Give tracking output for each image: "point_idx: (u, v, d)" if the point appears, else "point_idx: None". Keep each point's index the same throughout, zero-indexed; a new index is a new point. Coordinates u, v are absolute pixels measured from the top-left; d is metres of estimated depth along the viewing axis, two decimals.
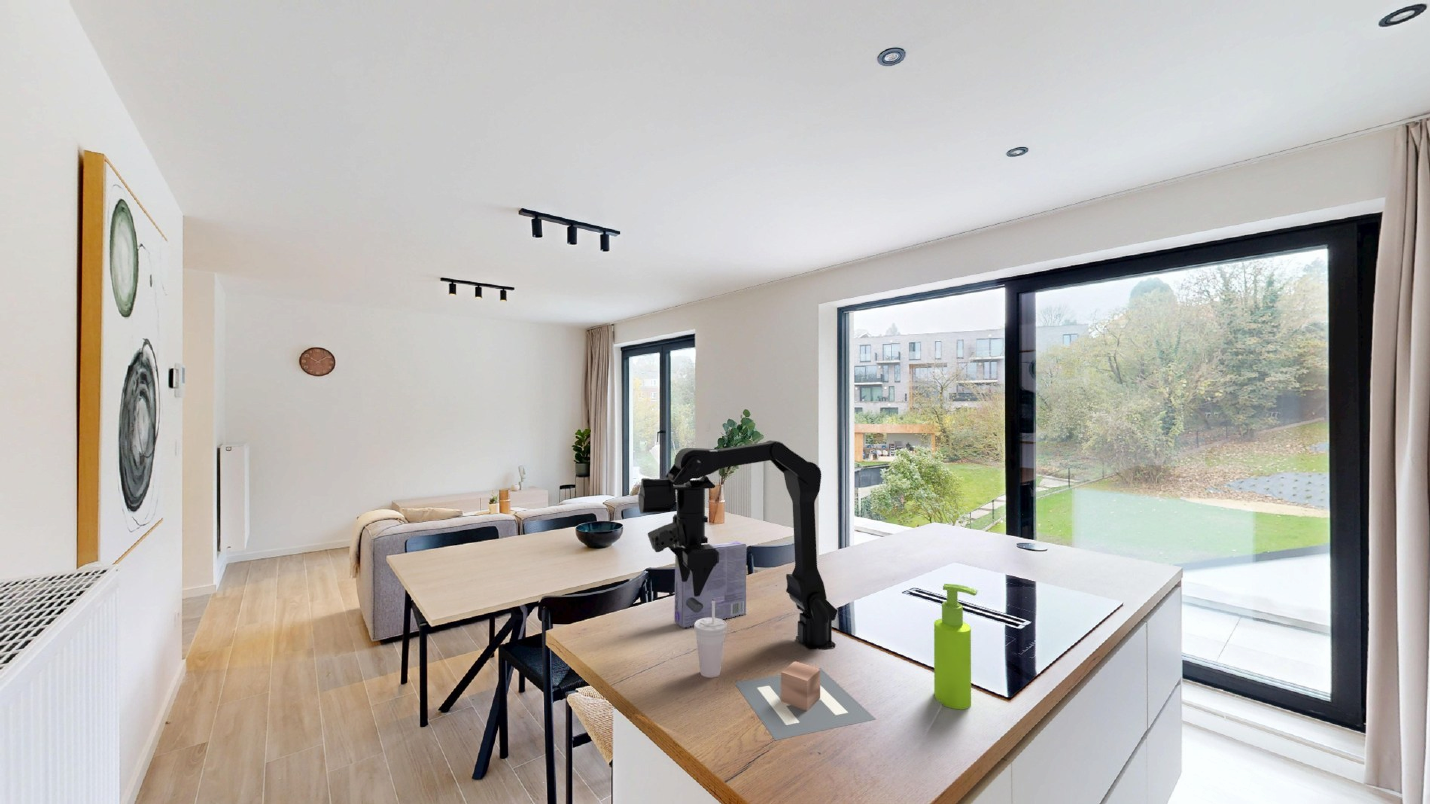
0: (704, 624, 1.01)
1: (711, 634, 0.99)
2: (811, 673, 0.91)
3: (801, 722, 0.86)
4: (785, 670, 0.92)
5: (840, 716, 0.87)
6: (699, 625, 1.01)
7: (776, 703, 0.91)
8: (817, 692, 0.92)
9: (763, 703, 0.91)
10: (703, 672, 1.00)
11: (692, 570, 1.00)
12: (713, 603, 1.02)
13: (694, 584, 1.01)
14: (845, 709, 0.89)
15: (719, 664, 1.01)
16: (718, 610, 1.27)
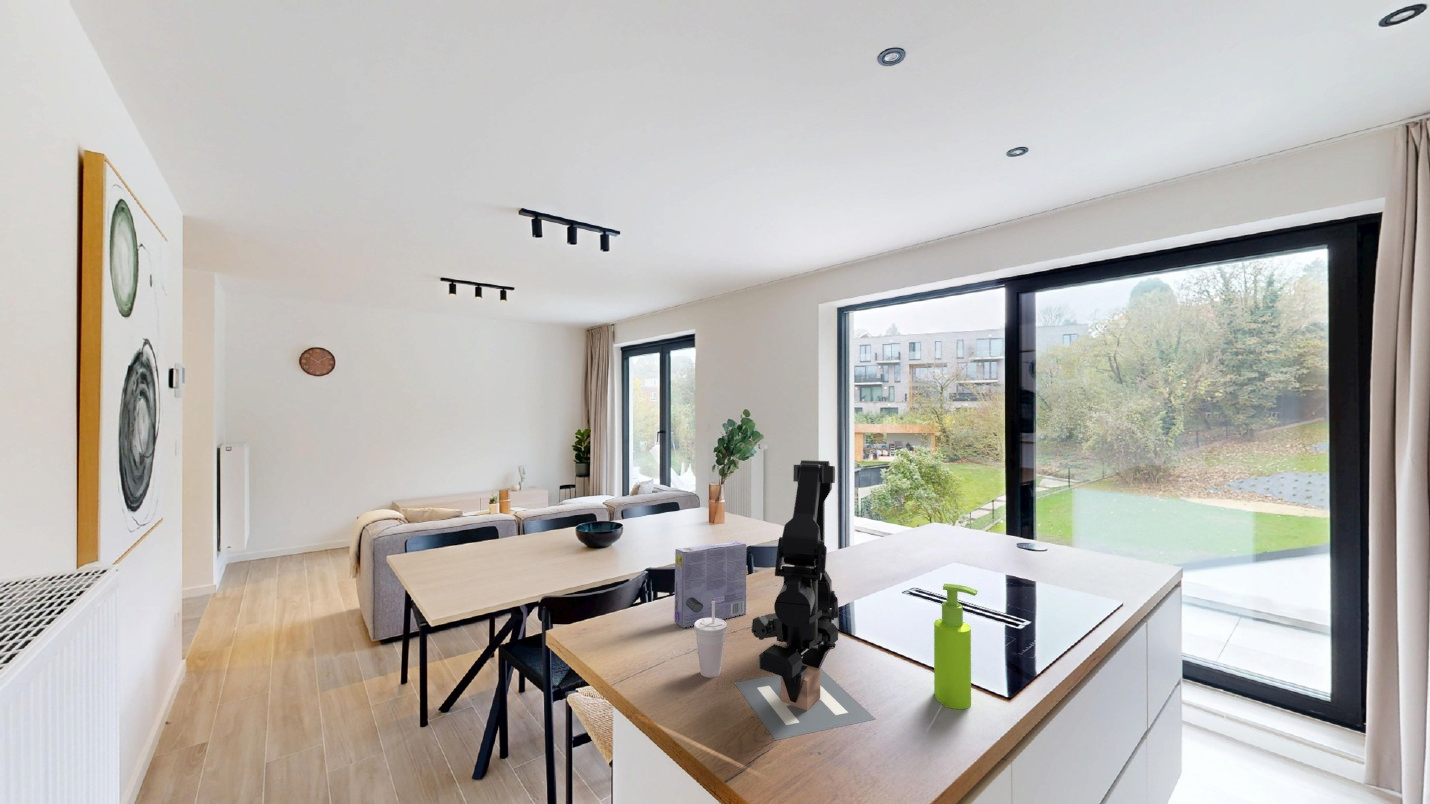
0: (704, 624, 1.01)
1: (711, 634, 0.99)
2: (811, 673, 0.91)
3: (801, 722, 0.86)
4: None
5: (840, 716, 0.87)
6: (699, 625, 1.01)
7: (776, 703, 0.91)
8: (817, 692, 0.92)
9: (763, 703, 0.91)
10: (703, 672, 1.00)
11: None
12: (713, 603, 1.02)
13: (786, 686, 0.90)
14: (845, 709, 0.89)
15: (719, 664, 1.01)
16: (718, 610, 1.27)
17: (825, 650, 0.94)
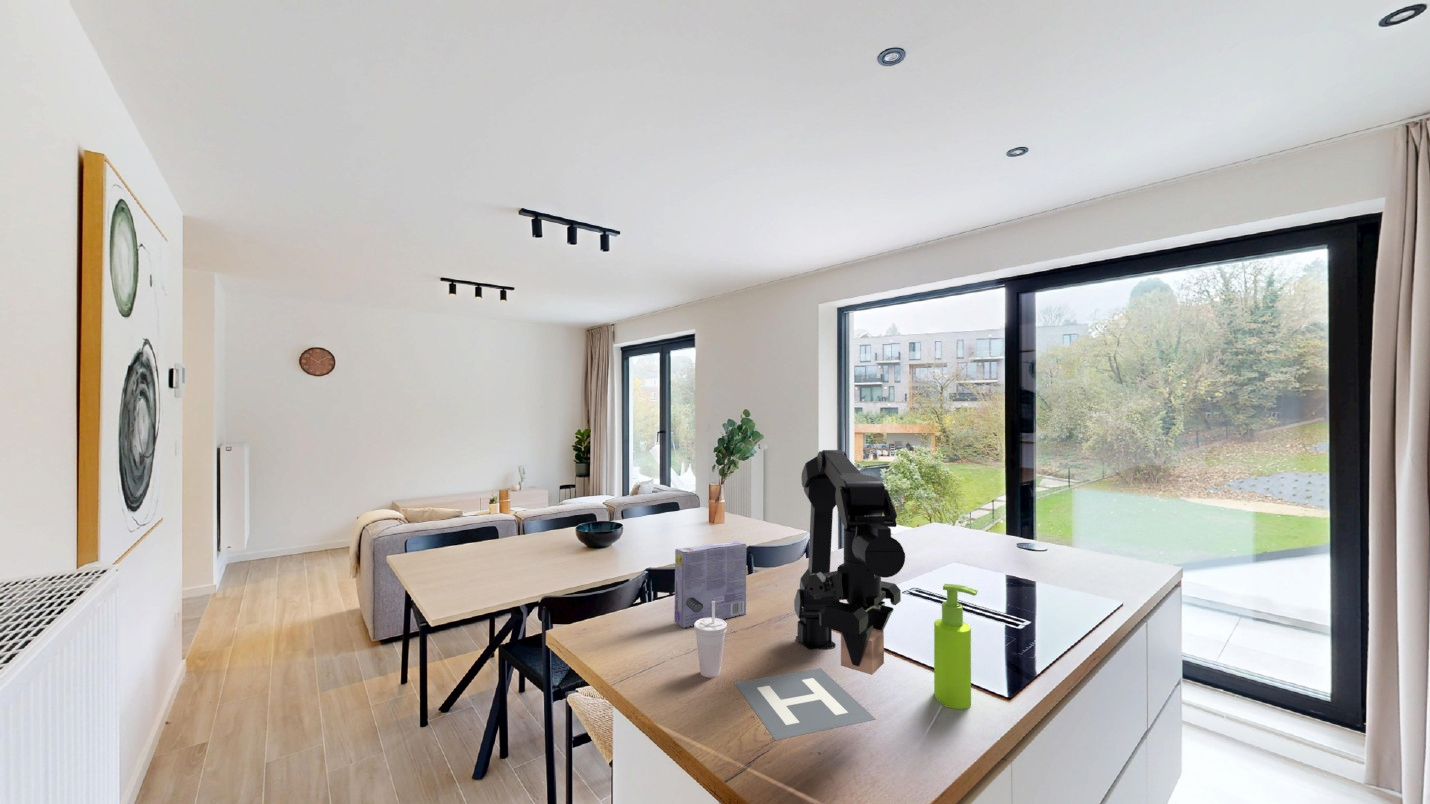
0: (704, 624, 1.01)
1: (711, 634, 0.99)
2: (875, 634, 0.83)
3: (801, 722, 0.86)
4: None
5: (840, 716, 0.87)
6: (699, 625, 1.01)
7: (776, 703, 0.91)
8: (881, 655, 0.83)
9: (763, 703, 0.91)
10: (703, 672, 1.00)
11: None
12: (713, 603, 1.02)
13: (848, 648, 0.81)
14: (845, 709, 0.89)
15: (719, 664, 1.01)
16: (718, 610, 1.27)
17: (888, 611, 0.85)
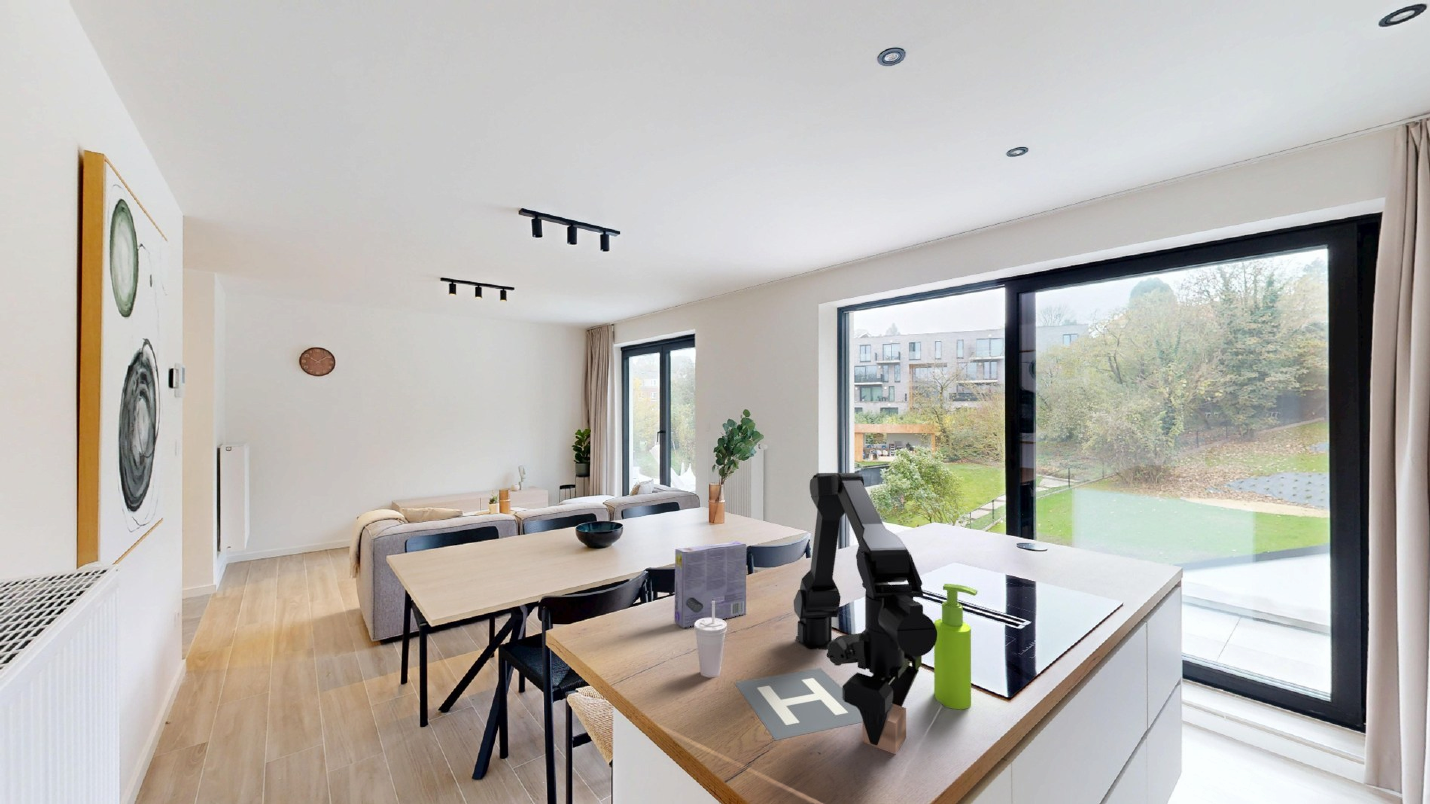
0: (704, 624, 1.01)
1: (711, 634, 0.99)
2: (898, 714, 0.80)
3: (801, 722, 0.86)
4: None
5: (840, 716, 0.87)
6: (699, 625, 1.01)
7: (776, 703, 0.91)
8: (903, 734, 0.81)
9: (763, 703, 0.91)
10: (703, 672, 1.00)
11: (859, 707, 0.77)
12: (713, 603, 1.02)
13: (866, 727, 0.77)
14: (845, 709, 0.89)
15: (719, 664, 1.01)
16: (718, 610, 1.27)
17: (914, 672, 0.85)
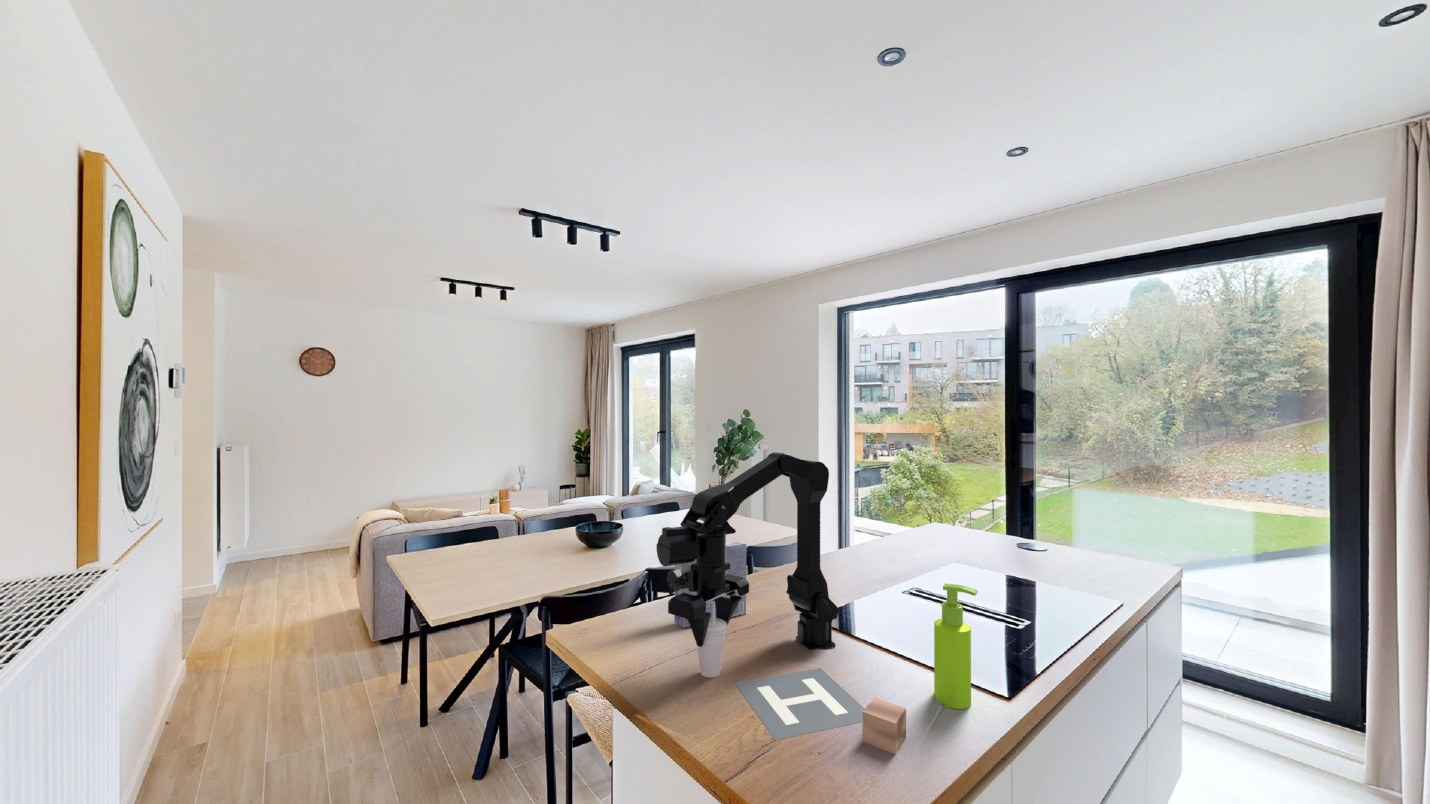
0: None
1: (711, 634, 0.99)
2: (898, 714, 0.80)
3: (801, 722, 0.86)
4: (867, 709, 0.81)
5: (840, 716, 0.87)
6: None
7: (776, 703, 0.91)
8: (903, 734, 0.81)
9: (763, 703, 0.91)
10: (703, 672, 1.00)
11: None
12: (713, 603, 1.02)
13: (693, 632, 0.99)
14: (845, 709, 0.89)
15: (719, 664, 1.01)
16: None
17: (736, 599, 1.04)
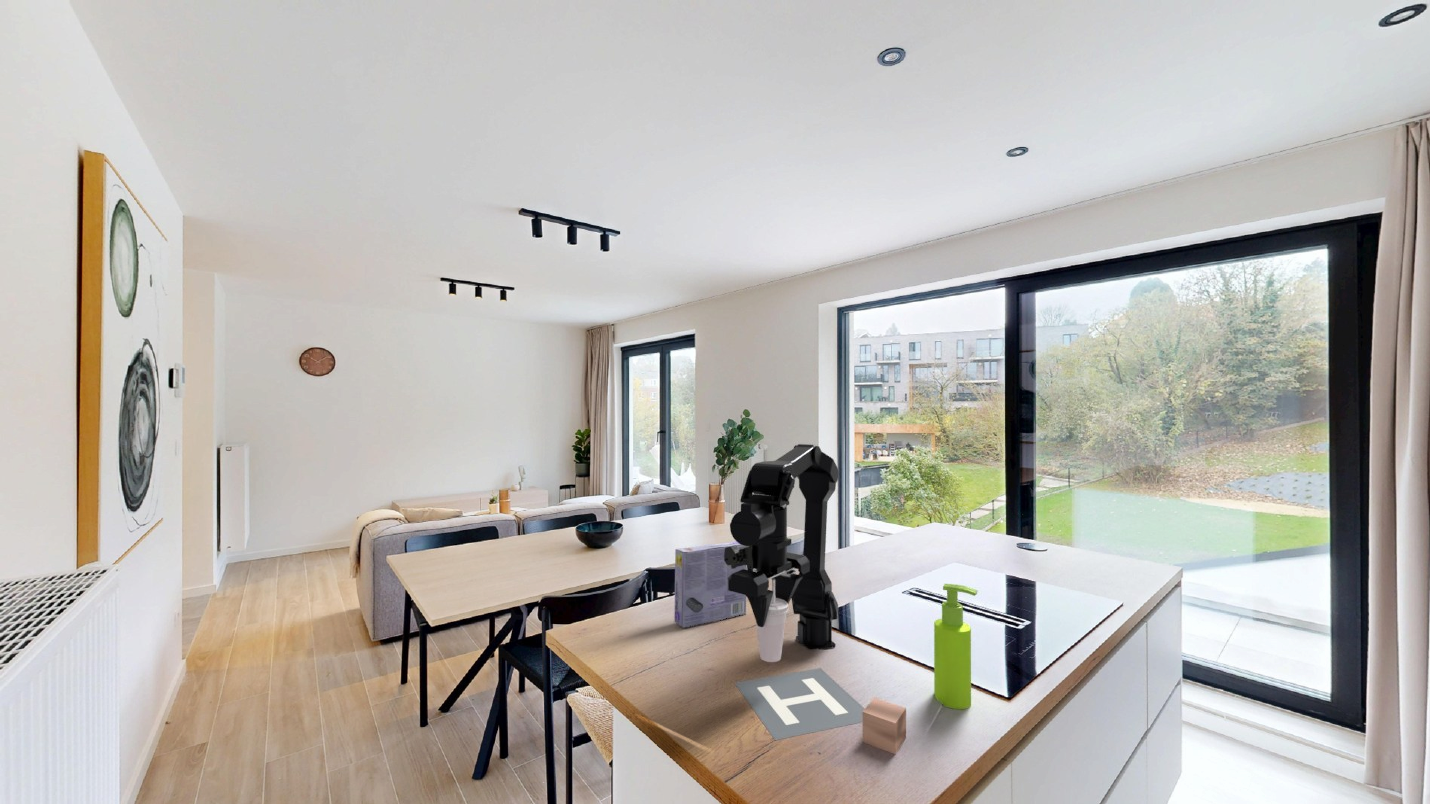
0: None
1: (773, 614, 0.92)
2: (898, 714, 0.80)
3: (801, 722, 0.86)
4: (867, 709, 0.81)
5: (840, 716, 0.87)
6: None
7: (776, 703, 0.91)
8: (903, 734, 0.81)
9: (763, 703, 0.91)
10: (763, 654, 0.94)
11: (747, 595, 0.92)
12: (773, 581, 0.95)
13: (753, 611, 0.93)
14: (845, 709, 0.89)
15: (780, 646, 0.94)
16: (718, 610, 1.27)
17: (797, 578, 0.97)
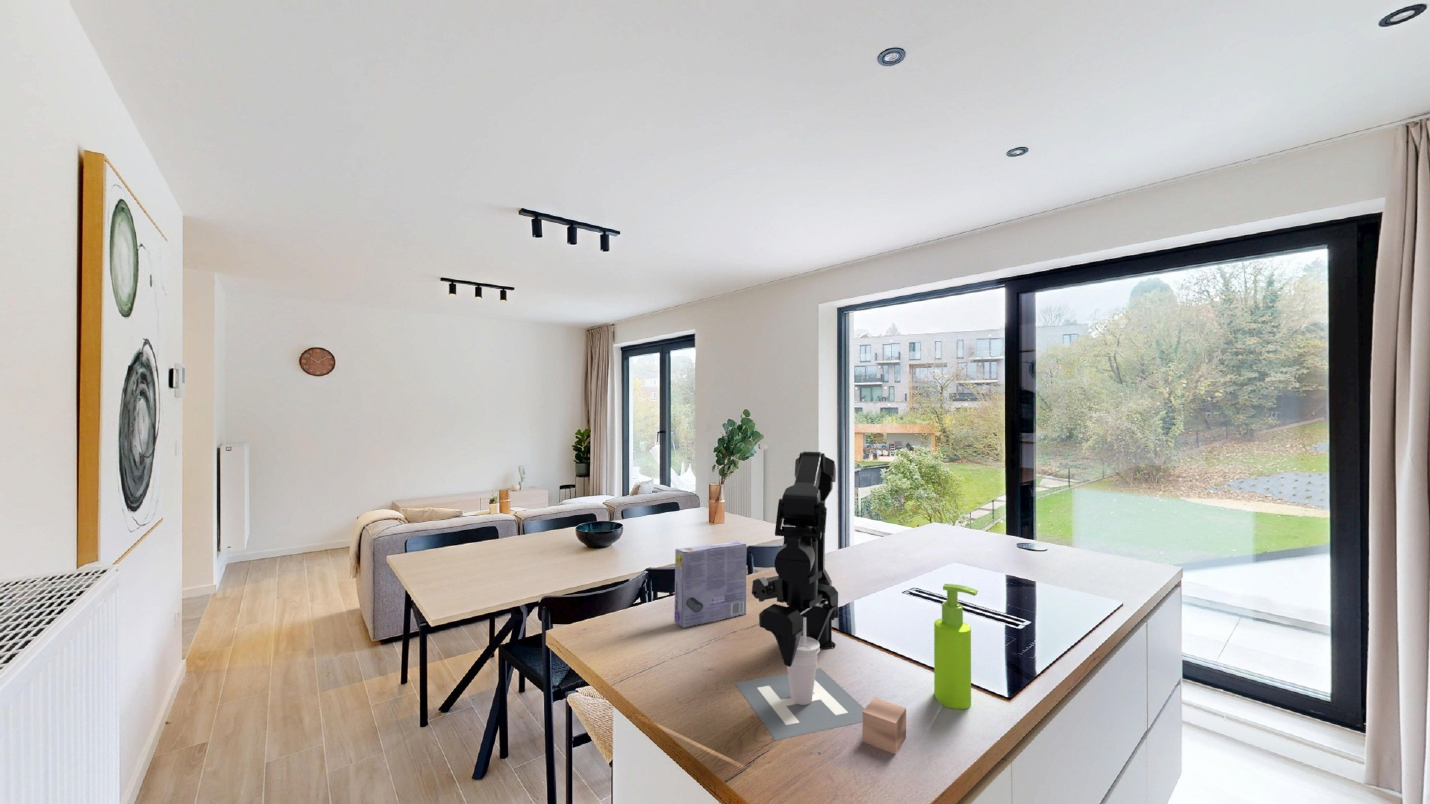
0: None
1: (806, 655, 0.90)
2: (898, 714, 0.80)
3: (801, 722, 0.86)
4: (867, 709, 0.81)
5: (840, 716, 0.87)
6: None
7: (776, 703, 0.91)
8: (903, 734, 0.81)
9: (763, 703, 0.91)
10: (794, 696, 0.91)
11: (774, 633, 0.88)
12: (805, 620, 0.92)
13: (781, 650, 0.88)
14: (845, 709, 0.89)
15: (812, 688, 0.91)
16: (718, 610, 1.27)
17: (830, 608, 0.96)
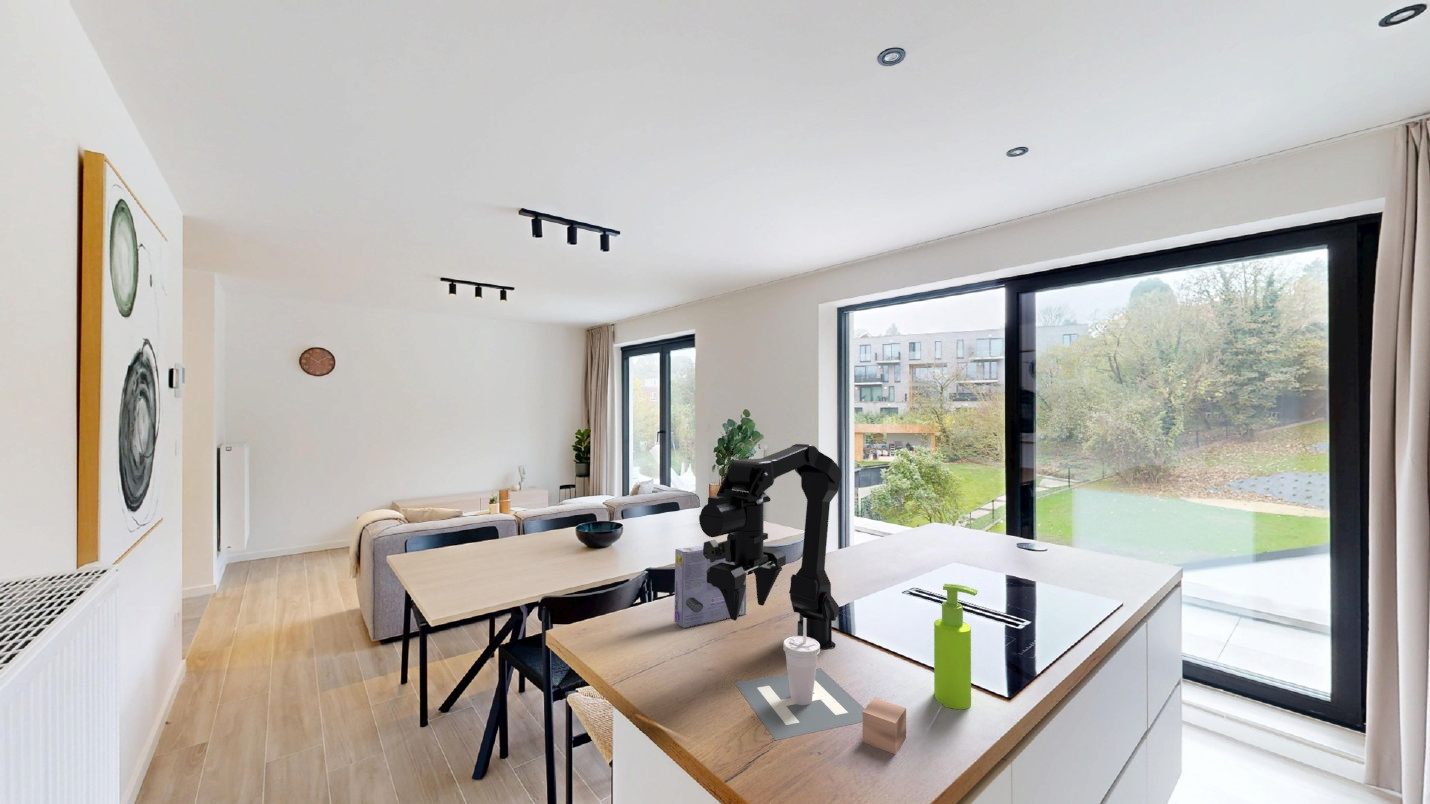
0: (795, 644, 0.92)
1: (806, 656, 0.89)
2: (898, 714, 0.80)
3: (801, 722, 0.86)
4: (867, 709, 0.81)
5: (840, 716, 0.87)
6: (789, 645, 0.92)
7: (776, 703, 0.91)
8: (903, 734, 0.81)
9: (763, 703, 0.91)
10: (794, 697, 0.91)
11: (720, 589, 0.95)
12: (805, 621, 0.92)
13: (727, 605, 0.95)
14: (845, 709, 0.89)
15: (812, 688, 0.91)
16: (718, 610, 1.27)
17: (777, 569, 1.02)
